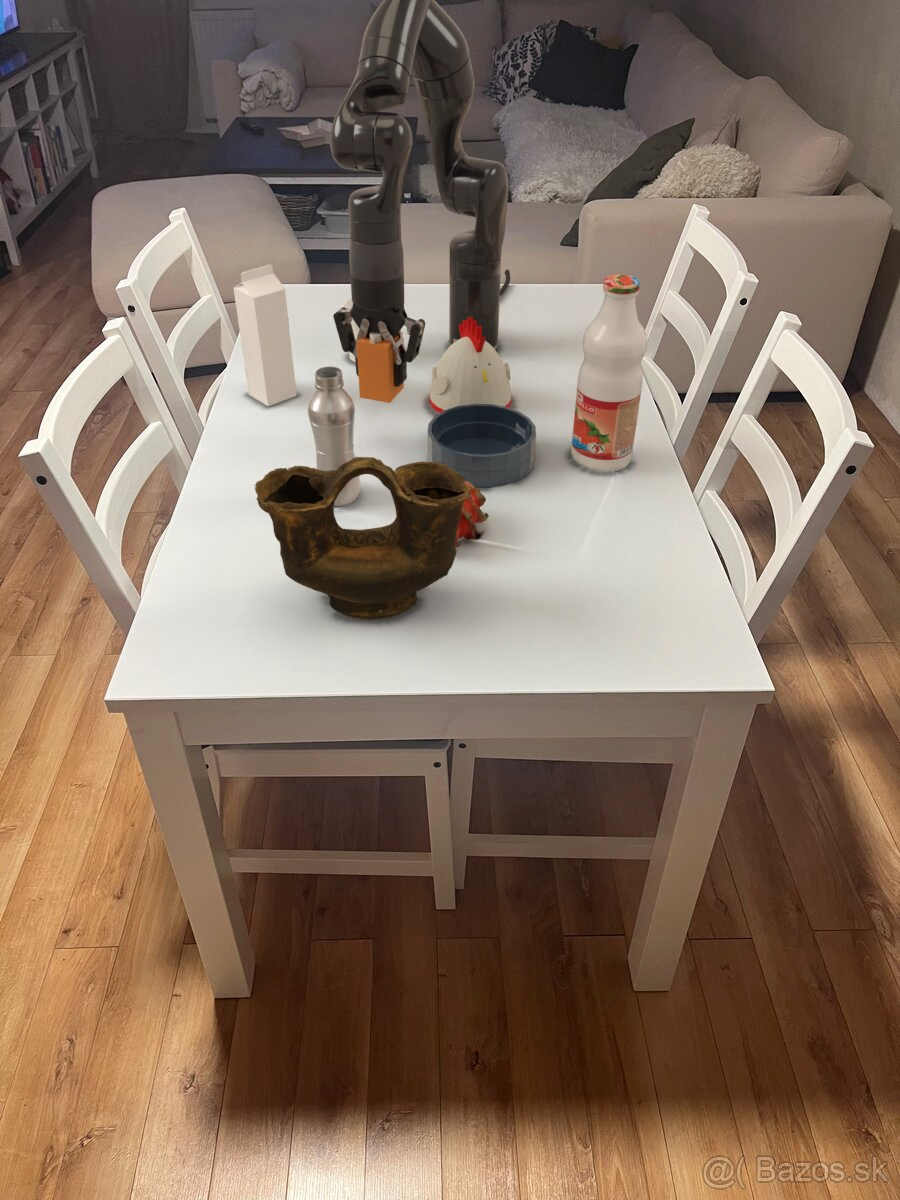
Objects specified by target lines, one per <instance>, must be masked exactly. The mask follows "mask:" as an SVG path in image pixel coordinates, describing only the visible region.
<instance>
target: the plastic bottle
mask: <svg viewBox="0 0 900 1200" xmlns="http://www.w3.org/2000/svg"><path fill="white" fill-rule="evenodd" d="M343 378H344V377H343V370H342V369H341V368H339V367H337V366H332V365H331V366H323V367H319V368H318V369H316V371H314V380H315V381H314V387H315V389H316V391H315V392H314V394H313V395H312V396H311V398H310V400H309V402H308V406H307V415H308V418H309V423H310V427H311V430H312V434H313V440H314V446H315V452H316V469H318V470H322V471H330V470H337V469H338V468H339V467H340V466H341V465H342V464H344V463H346V462H348V461H350V460H351V459H353V458H355V457H356V456H355V450H354V449H355V447H354V428H355V418H356V417H355V414H356V407H355V403H354V401H353V399H352V397H351V396H350V395H349V393H348V392H347V391H346V390H345V389H344V385H345V384H344V383H345V381H344V379H343ZM361 484H362V483H361V478H360V476H358V477H355V478H353V479H351V480H350V481H349V482H348V483H347V484H346V486H345V487H344V488H343V490H342V491H341V492H340V493H339V495H338V497H337V499H336V500H335V502H334V507H343V506H347V505H351V504H352V503H353V502H355V501H356V500H357V498H358V497H359V495H360V492H361Z"/></svg>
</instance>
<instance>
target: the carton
mask: <svg viewBox="0 0 900 1200" xmlns="http://www.w3.org/2000/svg"><path fill="white" fill-rule="evenodd" d="M401 333H402V336H403V335H404V334H403V331H401ZM398 337H399V336H398V335H396V336H395V337H394V338H393V340H394V342H396V341H397V340H398ZM403 337H404V336H403ZM357 357H358V374H359V376H358V392H359V398H360V399H364V400H371V401H375V402H381V403H388V404H391V403H392V401H393V400H395V399H396V398H397V396H398V395H399V394H400V393H401V392H402V391H403V390H404V388H405V381H404V382H403V383H402V385H401V386H400V387H396V386H394V369H393V364H394V363H395V362H394V360H393V351H392V350H391V343H390V342H389V343H385V341H384V340H382V334H381V333H375V332H371V333H370V338H368V337H366V339H362V338H360V339H359V340H357Z"/></svg>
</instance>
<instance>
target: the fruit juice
mask: <svg viewBox="0 0 900 1200" xmlns="http://www.w3.org/2000/svg"><path fill="white" fill-rule="evenodd" d="M640 284H641V283H640V280H639V279H638V278H637V277H636V276H632V275H628V274H611V275H608V276H606V277H605V278H604V280H603V286H602V291H603V293H604V296H603V297H604V298H603V301H602V304H601V306H600V309H599V311H598V312H597V314H596V316H595V317H594V319H593V320H592V321H591V322H590V323H589V324H588V326H587V327H586V328H585V330H584V333H583V336H582V342H581V343H582V351H583V356H584V357H583V361H582V362H581V364H580V367H579V371H578V377H577V385H576V395H575V396H576V397H575V406H574V417H573V426H572V438H571V448H570V453H571V457H572V458H573V460H574V461H575V462H576V463H578V464H579V465H581V466H584V467H586V468H590V469H592V470H599V471H612V470H614V472H618V471H621V470H624V469H625V468H626V467H628V466H629V464H630V463H631V460H632V457H633V452H634V445H635V437H636V431H637V424H638V418H639V409H640V402H641V395H642V390H643V379H644V371H643V368H642V361H643V358H644V356H645V354H646V351H647V347H648V335H647V332H646V329H645V328H644V326H643V325H642V323H641V322H640V321H639V317H638V312H637V305H636V304H637V303H636V300H637V299H636V298H637V296H638V294H639V292H640V287H641V285H640Z"/></svg>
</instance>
